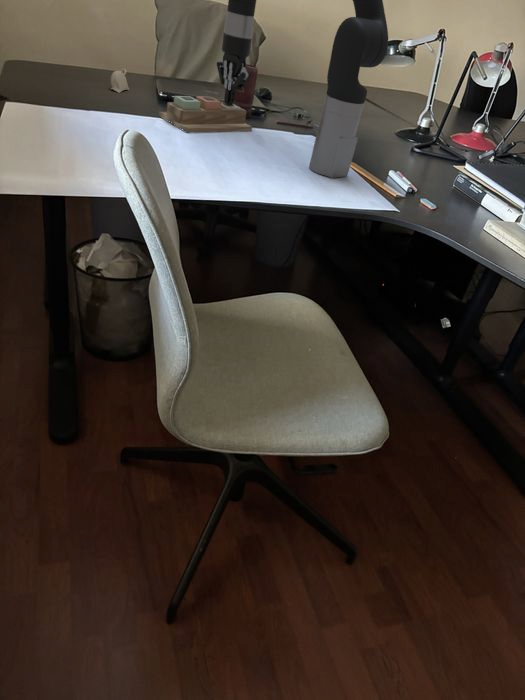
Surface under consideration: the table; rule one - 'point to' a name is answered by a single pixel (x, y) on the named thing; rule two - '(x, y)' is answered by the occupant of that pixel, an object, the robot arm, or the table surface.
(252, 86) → the can
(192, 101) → the sage key
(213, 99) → the terracotta key
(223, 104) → the cream key
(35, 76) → the table surface
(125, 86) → the decorative ornament
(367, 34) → the robot arm
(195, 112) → the keypad board
